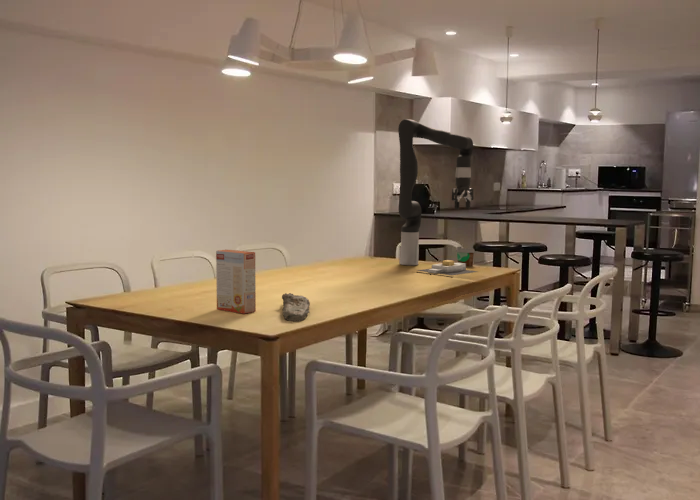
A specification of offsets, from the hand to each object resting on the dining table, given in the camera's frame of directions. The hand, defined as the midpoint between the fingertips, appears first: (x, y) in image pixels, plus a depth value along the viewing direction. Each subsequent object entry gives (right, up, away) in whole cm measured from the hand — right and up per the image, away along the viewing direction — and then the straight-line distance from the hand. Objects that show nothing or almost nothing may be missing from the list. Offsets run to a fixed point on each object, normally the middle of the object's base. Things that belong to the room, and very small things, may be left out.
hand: (462, 209), depth 363 cm
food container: (+2, -29, +10) cm, 31 cm away
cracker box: (-96, -42, -112) cm, 154 cm away
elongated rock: (-75, -42, -112) cm, 142 cm away
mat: (-9, -32, -13) cm, 36 cm away
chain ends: (-9, -32, -13) cm, 36 cm away
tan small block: (-9, -31, -14) cm, 35 cm away
